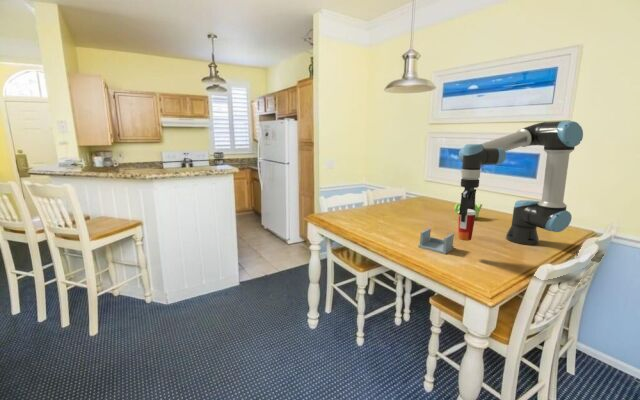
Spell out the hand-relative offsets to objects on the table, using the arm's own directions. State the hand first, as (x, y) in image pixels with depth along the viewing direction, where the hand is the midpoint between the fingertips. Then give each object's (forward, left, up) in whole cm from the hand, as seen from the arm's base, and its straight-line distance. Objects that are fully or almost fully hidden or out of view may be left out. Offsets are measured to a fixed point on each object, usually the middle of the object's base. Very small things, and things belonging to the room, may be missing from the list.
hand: (465, 226), depth 141 cm
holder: (+14, -4, -15) cm, 21 cm away
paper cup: (0, 0, -6) cm, 6 cm away
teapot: (+21, -79, -16) cm, 83 cm away
